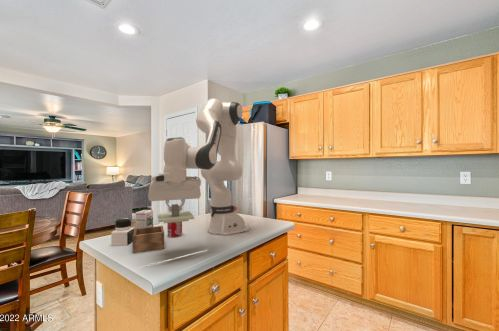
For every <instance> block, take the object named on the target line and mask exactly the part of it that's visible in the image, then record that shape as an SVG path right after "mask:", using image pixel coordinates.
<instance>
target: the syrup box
mask: <svg viewBox="0 0 499 331" xmlns="http://www.w3.org/2000/svg"><path fill="white" fill-rule="evenodd" d="M145 227H154V211H153V210H152V209H143V210H140V211H136V212H135V229H136V228H145Z"/></svg>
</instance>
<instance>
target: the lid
mask: <svg viewBox="0 0 499 331" xmlns="http://www.w3.org/2000/svg"><path fill="white" fill-rule="evenodd" d="M171 206H172V213H168V212H161V213H160V212H159V213H157V220H158V221H157V222H158V223H163V224H167V223H173V222H182V223H183V222H189V220H194V219H195V216H194V215H193V213H191V211H189V210H188V211H186V210H185V211H181V212H179V206H180V205H179V204H178V203H175V204H171Z"/></svg>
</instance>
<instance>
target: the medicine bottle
mask: <svg viewBox="0 0 499 331" xmlns="http://www.w3.org/2000/svg"><path fill="white" fill-rule="evenodd" d="M134 229H135V227H131V219H130V218H118V219H116V220H115V230H112V231H111V234H110V236H111V238H110V240H111V242H110V243H111V247H118V246H119V247H121V246H129V245H130V244H131V243H133V233H134Z"/></svg>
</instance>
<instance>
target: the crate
mask: <svg viewBox="0 0 499 331" xmlns="http://www.w3.org/2000/svg"><path fill="white" fill-rule="evenodd" d="M159 250H165V230H164V226H163V225H158V226H157V225H156V226H153V227H145V228H136V227H135V228H134V233H133V242H132V254H138V253H144V252H145V253H146V252H151V251H159Z"/></svg>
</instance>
